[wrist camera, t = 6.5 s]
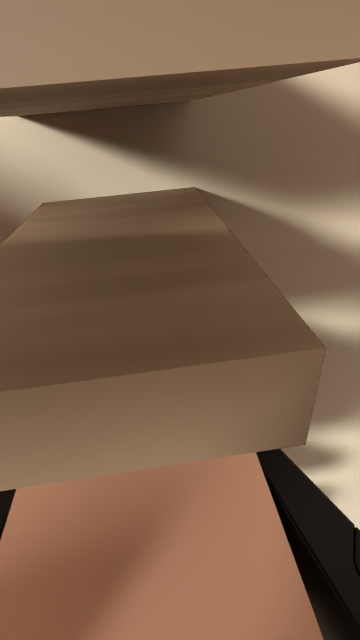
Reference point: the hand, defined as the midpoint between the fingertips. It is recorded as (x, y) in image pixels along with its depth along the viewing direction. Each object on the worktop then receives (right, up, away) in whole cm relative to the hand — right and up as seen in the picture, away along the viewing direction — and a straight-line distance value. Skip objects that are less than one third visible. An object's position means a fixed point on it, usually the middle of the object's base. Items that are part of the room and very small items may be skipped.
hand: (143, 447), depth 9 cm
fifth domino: (-1, +7, +3) cm, 8 cm away
